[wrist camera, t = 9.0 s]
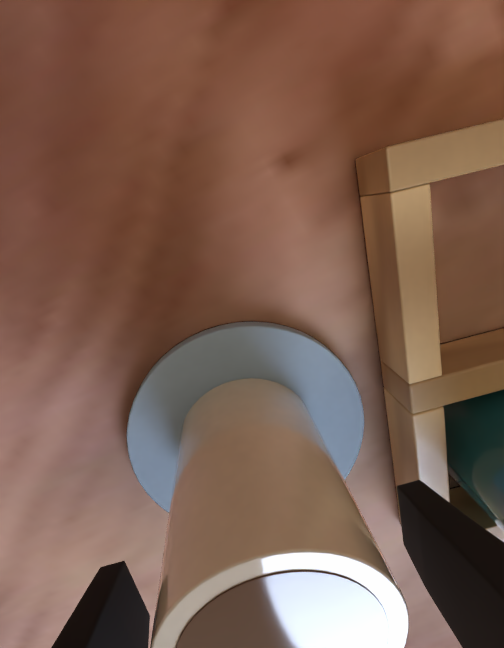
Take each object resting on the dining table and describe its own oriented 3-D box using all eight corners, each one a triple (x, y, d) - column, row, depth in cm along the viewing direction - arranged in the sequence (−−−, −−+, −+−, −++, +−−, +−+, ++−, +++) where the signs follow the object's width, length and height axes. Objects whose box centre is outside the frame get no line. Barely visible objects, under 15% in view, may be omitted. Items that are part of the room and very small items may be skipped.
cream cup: (324, 474, 15) (420, 695, 8) (200, 508, 14) (191, 764, 8) (301, 362, 13) (397, 519, 6) (161, 398, 13) (108, 600, 6)
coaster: (371, 489, 16) (377, 499, 15) (170, 545, 15) (168, 557, 15) (341, 293, 13) (347, 297, 12) (93, 356, 13) (88, 363, 12)
